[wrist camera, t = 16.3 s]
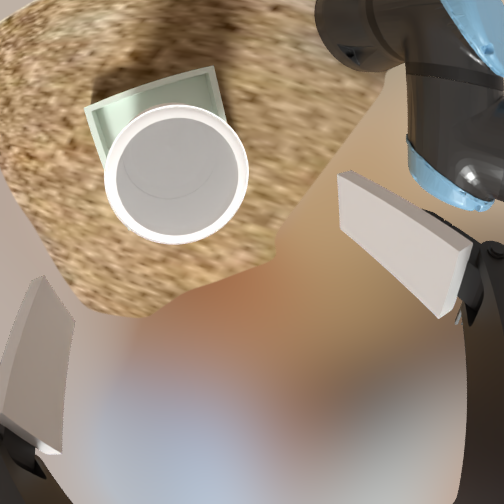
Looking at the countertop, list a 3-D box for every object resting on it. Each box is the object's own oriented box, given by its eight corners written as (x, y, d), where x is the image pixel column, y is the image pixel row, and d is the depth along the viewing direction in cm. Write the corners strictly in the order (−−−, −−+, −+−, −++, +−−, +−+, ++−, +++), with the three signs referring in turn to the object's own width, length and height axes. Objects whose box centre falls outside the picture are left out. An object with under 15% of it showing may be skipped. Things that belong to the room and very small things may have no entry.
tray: (207, 68, 29) (213, 65, 26) (234, 182, 38) (242, 191, 35) (90, 106, 27) (83, 108, 24) (130, 218, 36) (128, 230, 33)
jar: (105, 149, 29) (75, 188, 17) (168, 83, 28) (179, 73, 16) (169, 203, 35) (182, 269, 23) (229, 143, 34) (277, 177, 22)
